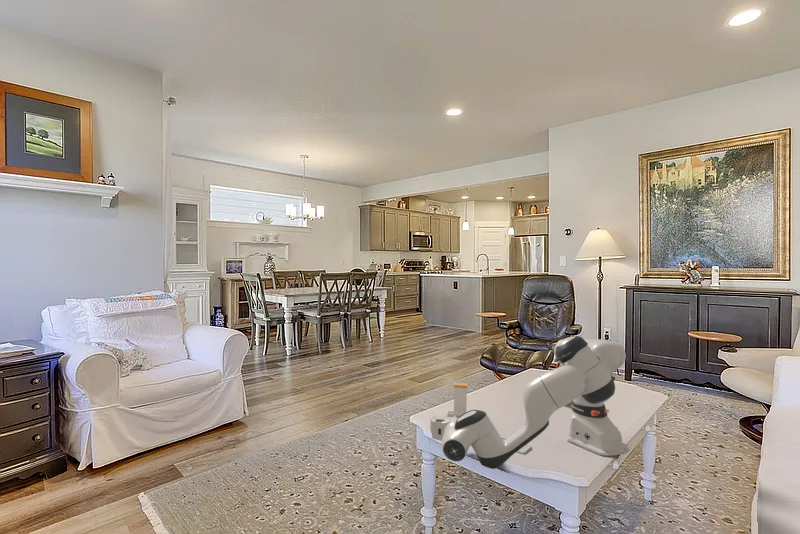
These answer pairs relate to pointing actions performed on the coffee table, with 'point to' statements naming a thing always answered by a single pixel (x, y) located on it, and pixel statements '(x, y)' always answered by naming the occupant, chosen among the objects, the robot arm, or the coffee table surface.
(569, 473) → the coffee table surface
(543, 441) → the coffee table surface
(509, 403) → the coffee table surface
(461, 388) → the fader tab
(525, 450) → the smartphone
